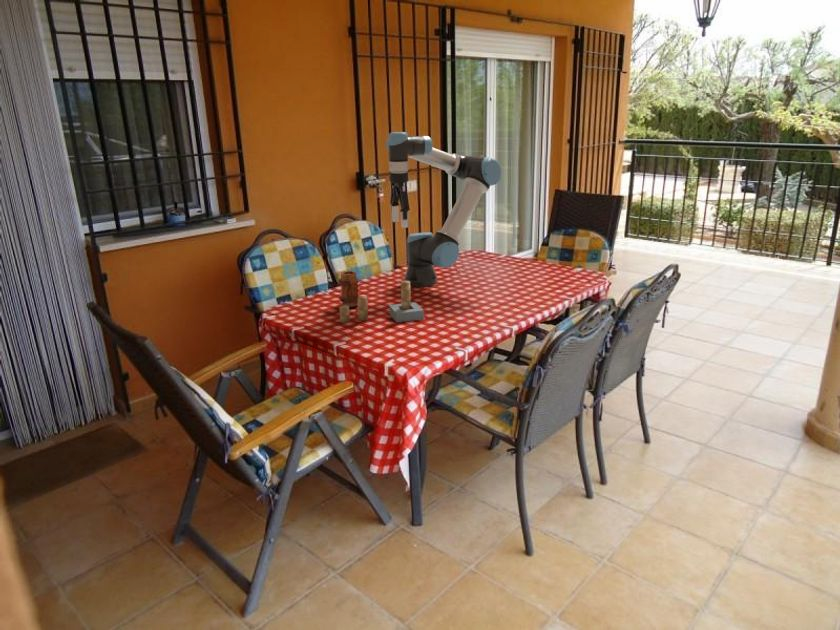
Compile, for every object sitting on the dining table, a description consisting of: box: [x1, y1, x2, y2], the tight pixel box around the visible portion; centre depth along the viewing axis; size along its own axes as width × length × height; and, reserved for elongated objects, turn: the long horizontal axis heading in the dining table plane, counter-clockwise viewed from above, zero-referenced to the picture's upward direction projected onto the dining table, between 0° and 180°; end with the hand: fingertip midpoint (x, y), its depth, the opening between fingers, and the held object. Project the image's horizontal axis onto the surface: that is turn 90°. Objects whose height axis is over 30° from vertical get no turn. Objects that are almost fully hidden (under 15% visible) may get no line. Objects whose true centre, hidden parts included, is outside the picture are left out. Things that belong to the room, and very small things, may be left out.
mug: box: [338, 270, 360, 308], centre depth 254 cm, size 15×8×15 cm, turn 21°
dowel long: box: [400, 280, 412, 310], centre depth 243 cm, size 4×4×14 cm
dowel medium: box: [357, 295, 368, 322], centre depth 241 cm, size 4×4×9 cm
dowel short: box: [339, 304, 351, 324], centre depth 240 cm, size 4×4×6 cm
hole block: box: [388, 302, 425, 323], centre depth 245 cm, size 11×11×4 cm
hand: (399, 224), depth 258 cm, fingers open, 13 cm apart
